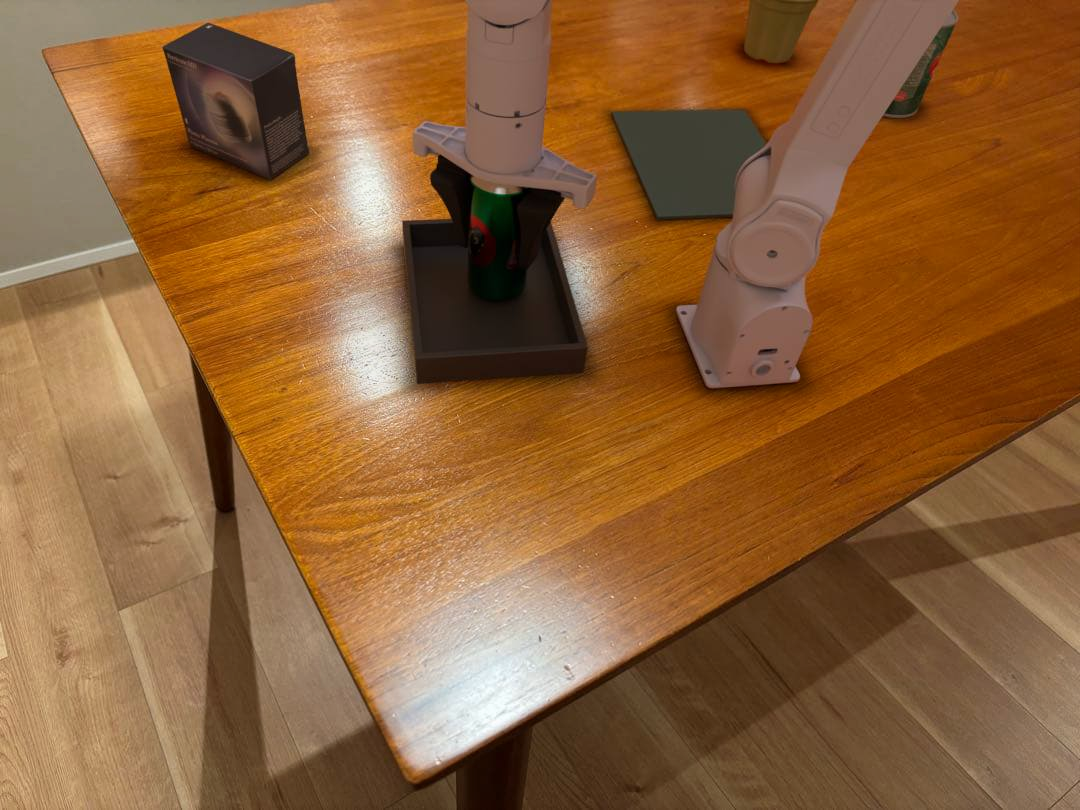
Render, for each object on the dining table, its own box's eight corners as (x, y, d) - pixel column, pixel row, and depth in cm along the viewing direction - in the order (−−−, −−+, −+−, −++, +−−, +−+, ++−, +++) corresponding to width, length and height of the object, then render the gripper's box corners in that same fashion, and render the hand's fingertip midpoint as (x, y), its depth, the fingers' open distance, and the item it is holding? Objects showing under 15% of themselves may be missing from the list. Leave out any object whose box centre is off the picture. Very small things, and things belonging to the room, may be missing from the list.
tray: (583, 372, 65) (588, 347, 63) (416, 384, 63) (415, 358, 61) (546, 240, 76) (549, 214, 74) (403, 246, 74) (402, 220, 72)
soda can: (518, 310, 69) (527, 188, 60) (460, 299, 69) (461, 176, 60) (531, 274, 72) (541, 152, 63) (475, 263, 73) (478, 141, 64)
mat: (808, 214, 82) (810, 211, 82) (656, 220, 80) (657, 216, 79) (743, 112, 95) (744, 109, 95) (611, 114, 93) (611, 111, 92)
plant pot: (716, 41, 107) (733, -29, 101) (774, 33, 110) (794, -36, 104) (757, 75, 102) (778, 3, 95) (817, 65, 105) (841, -5, 98)
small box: (184, 148, 82) (156, 44, 74) (230, 121, 86) (207, 19, 78) (269, 183, 79) (248, 78, 71) (312, 152, 83) (297, 50, 75)
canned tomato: (931, 114, 99) (974, 21, 90) (878, 122, 96) (918, 28, 88) (890, 82, 103) (927, -8, 95) (839, 89, 101) (873, -3, 93)
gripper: (621, 101, 59) (596, 252, 69) (443, 49, 62) (444, 201, 72) (584, 146, 54) (563, 301, 65) (394, 87, 58) (403, 243, 68)
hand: (498, 251), depth 68 cm, fingers closed on soda can, 5 cm apart
